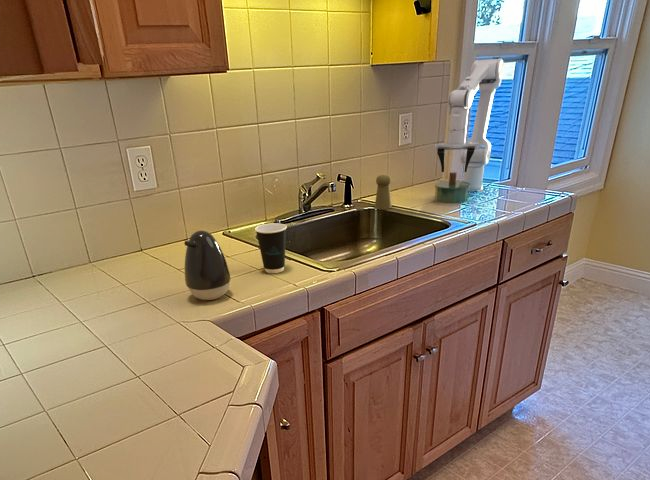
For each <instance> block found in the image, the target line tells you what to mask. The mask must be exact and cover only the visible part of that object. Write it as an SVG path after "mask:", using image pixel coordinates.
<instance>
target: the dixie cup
mask: <svg viewBox="0 0 650 480" xmlns="http://www.w3.org/2000/svg"><path fill="white" fill-rule="evenodd" d="M287 228H288V227H287V225H286V224H285V223H277V222H271V223H263V224H259V225H257V226H255V228H254V232H255V233H256V237H257V242H258V246H259V251H260V256H261V260H262V264H263V268H264V269H265V272H266V273H268V274H278V273H281V272H284V270H285V266H286V238H287V237H286V235H287V233H286V231H287Z"/></svg>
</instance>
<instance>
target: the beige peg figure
mask: <svg viewBox="0 0 650 480" xmlns="http://www.w3.org/2000/svg"><path fill="white" fill-rule="evenodd" d="M375 182H376V184H377V187H376V193H375V194H376V195H375V202H374V209H377V210H389V209H391V208H392V207H393V205H392V197H391V196H392V195H391V187H390V185H391V183H392V177H391V176H390V175H389V174H381V175H377V177H376V179H375Z"/></svg>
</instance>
